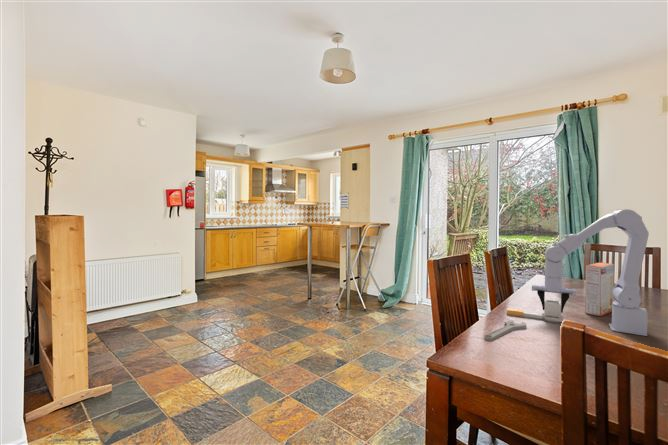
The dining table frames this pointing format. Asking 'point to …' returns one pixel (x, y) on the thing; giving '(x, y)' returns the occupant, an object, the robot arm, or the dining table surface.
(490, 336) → the adjustable wrench
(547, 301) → the socket
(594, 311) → the cracker box
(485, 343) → the dining table surface
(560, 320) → the ratchet
